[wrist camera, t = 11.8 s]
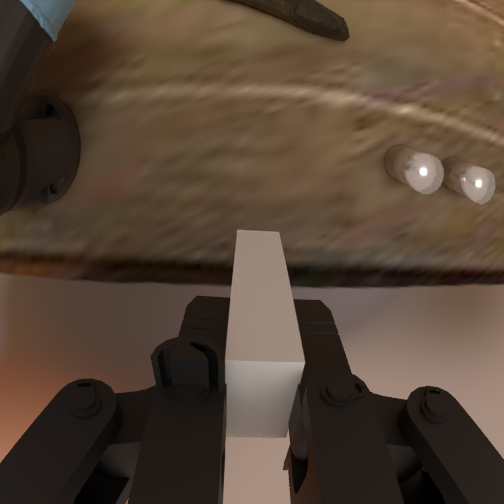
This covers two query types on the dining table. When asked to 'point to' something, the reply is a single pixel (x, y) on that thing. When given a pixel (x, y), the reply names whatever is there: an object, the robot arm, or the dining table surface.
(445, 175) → the cylinder
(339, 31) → the hand tool
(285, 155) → the dining table surface
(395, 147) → the spacer
